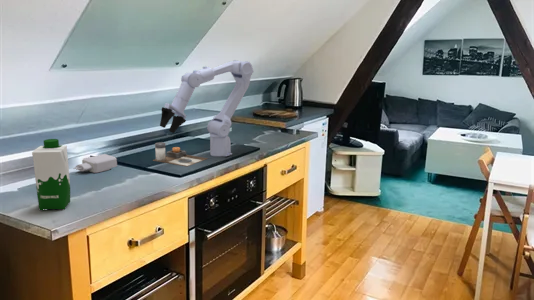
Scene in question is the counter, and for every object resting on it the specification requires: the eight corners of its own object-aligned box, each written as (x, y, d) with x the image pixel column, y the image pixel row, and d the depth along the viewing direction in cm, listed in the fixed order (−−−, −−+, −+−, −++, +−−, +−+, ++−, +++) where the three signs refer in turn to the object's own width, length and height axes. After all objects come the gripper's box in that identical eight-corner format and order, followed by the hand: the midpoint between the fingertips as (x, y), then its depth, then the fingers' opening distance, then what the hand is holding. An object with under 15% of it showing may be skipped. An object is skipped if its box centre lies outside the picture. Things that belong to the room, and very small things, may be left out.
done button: (175, 151, 193) (175, 146, 193) (181, 152, 192) (181, 147, 191) (171, 152, 191) (171, 148, 190) (177, 153, 189) (176, 149, 189)
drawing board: (175, 154, 197) (175, 148, 196) (208, 160, 189) (208, 153, 188) (152, 162, 184) (151, 155, 183) (186, 168, 176) (186, 161, 175)
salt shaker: (160, 157, 188) (159, 141, 186) (167, 159, 186) (167, 143, 184) (153, 160, 184) (152, 143, 182) (161, 161, 182) (160, 145, 181)
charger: (68, 172, 168) (103, 164, 179) (82, 177, 162) (117, 168, 174) (67, 160, 166) (102, 153, 178) (81, 165, 161) (116, 157, 173)
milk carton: (74, 200, 139) (68, 138, 134) (66, 210, 130) (60, 145, 125) (44, 201, 137) (37, 138, 132) (34, 212, 129) (27, 145, 124)
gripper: (182, 102, 188) (167, 131, 186) (164, 90, 174) (149, 120, 173) (195, 107, 185) (181, 136, 184) (179, 95, 172) (163, 126, 170)
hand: (166, 129), depth 178 cm, fingers open, 7 cm apart
